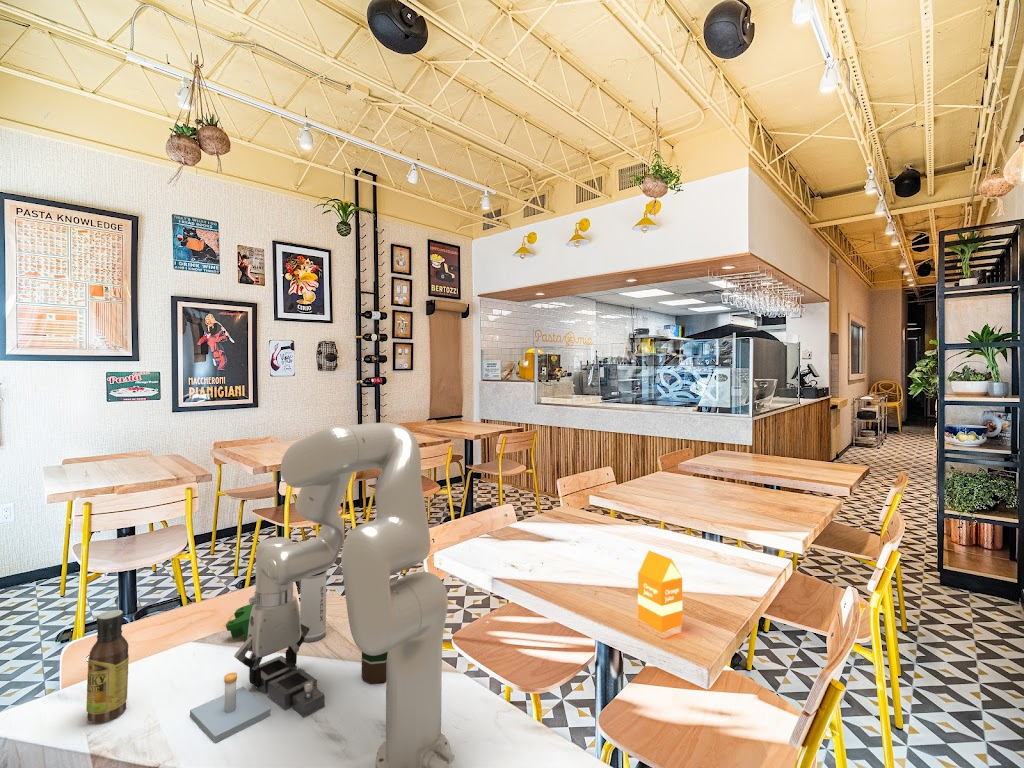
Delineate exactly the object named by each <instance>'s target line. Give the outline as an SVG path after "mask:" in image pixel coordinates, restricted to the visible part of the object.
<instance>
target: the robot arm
mask: <svg viewBox="0 0 1024 768" xmlns="http://www.w3.org/2000/svg"><path fill="white" fill-rule="evenodd" d="M372 469H373V470H374V469H381V471H380V474H379V476H378V478H377V480H376V483H375V484H376V485H375V488H374V489H375V490H374V503H375V509H376V519H374V520H370V521H367V522H364V523H360V524H359V525H357V526H355V527H354V528H353V529H351V530H350V531H349V532H348V533H347V535H346V537H345V526H344V525H345V524H344V521H343V518H342V515H341V514H340V513H339V509H340V506H341V504H342V501H343V500H344V496H345V494H346V491H347V489H348V487H349V484H350V481H351V479H352V477H353V473H356V472H363V471H367V470H372ZM280 474H281V478H282V480H283V482H284V483H286V485H287V486H289V487H291V488H294V489H295V488H296V489H299V491H298V494H297V496H296V499H295V505H294V507H295V510H296V512H297V514H298V515H300V517H301V518H303V519H304V520H307V521H309V522H311V523H314V524H317V525H321V528H320V530H319V532H318V534H317V535H316V537H315V538H310V539H307V540H304V541H300V542H296V543H294V542H293V540H292V539H291V538H289V537H285V536H277V537H275V536H274V537H268V538H266V539H263V540H261V541H260V542H258V543H257V546H256V548H255V591H254V595H253V596H252V597H249V599H248V603H249V605H250V604H255V605H253V607H252V610H251V615H250V620H249V627H248V639H247V640H245V641H244V643H243V644H242V645H241V646H240V648H239V649H238V650H237V651H236V652H235V653H234V655H233V657H234V658H235V659H236V660H238V661H239V662H240V663H242V664H243V665H245V667H248V668H249V669H248V670H249V671H248V672H249V675H248V676H249V678H248V681H249V684H250V685H252V684H253V685H252V686H253V687H255V688H256V689H257V688H259V687H260V686H261V668H260V667H259V665H260V664H261V662H262V659H263V658H264V657H268V656H270V655H273V654H275V653H276V652H280V651H282V650H284V649H286V650H285V658H286V659H287V660H288V661H290V662H291V663H293V664H295V665H296V666H297V661H298V660H297V656H298V655H297V653H298V652H299V651H300V647H301V646H302V645H303V643H304V638H305V637H306V635H307V633H308V632H309V630H310V629H309V628H308V627H307V626H305V625H303V624H301V622H300V608H299V606H300V605H299V601H298V598H297V596H295V595H294V583H295V582H299V581H301V580H302V579H304V578H306V577H309V576H312V575H315V574H318V573H321V572H324V571H326V572H327V570H329V569H330V568H331V567H332V566H333V565H334V564H335V562H336V560H337V558H338V556H339V555H340V552H341V555H340V556H341V559H340V561H341V572H342V580H343V588H344V595H345V601H346V602H345V603H346V610H347V618H348V624H349V625H348V626H349V629H350V633H351V636H352V639H353V641H354V644H355V645H356V646H357V648H358V649H359V651H361V653H362V652H363V653H365V654H367V655H371V656H376V655H381V654H383V653H386V652H388V654H387V664H386V682H385V741H384V742H383V743H382V744H381V745H380V747H379V748H378V750H377V753H376V759H375V761H376V762H375V763H376V764H375V765H376V768H451V766H450V765H451V764H452V763H453V762H454V760H455V754H454V753H452V752H451V745H450V743H449V740H448V739H447V737H446V735H445V734H443V733H442V678H443V677H442V676H443V673H442V672H443V671H442V668H443V642H444V641H443V639H444V631H445V625H446V619H447V614H448V608H449V596H448V592H447V588H446V586H445V584H444V581H442V579H441V578H440V577H439V576H437V575H436V574H435V573H432V572H429V571H416V572H414V573H409V574H407V575H404V576H401V578H398V579H395V580H393V581H391V577H392V576H394V575H397V574H398V573H400V572H403V571H405V570H408V569H410V568H413V567H415V566H416V565H419V564H420V563H422V562H423V561H425V560H426V558H427V557H428V556H429V554H430V550H431V535H430V528H429V522H428V515H427V508H426V501H425V495H424V489H423V483H422V481H423V480H422V456H421V450H420V446H419V443H418V441H417V438H416V437H415V436H414V434H413V433H412V431H410V430H409V429H408V427H407V428H406V427H405V426H403V425H400V424H396V423H391V422H372V423H371V422H370V423H361V424H348V425H334V426H329V427H326V428H323V429H321V430H318V431H316V432H315V433H312V434H311V435H309V436H306V437H304V438H302V439H300V440H298V441H296V442H294V443H293V444H292V445H290V446H289V447H288V448H287V449H286V451H285V452H284V453H283V455H282V458H281V463H280ZM248 652H249V653H250V656H249V657H247V656H246V654H247V653H248Z"/></svg>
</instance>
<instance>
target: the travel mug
mask: <svg viewBox="0 0 1024 768" xmlns="http://www.w3.org/2000/svg"><path fill="white" fill-rule="evenodd" d="M299 606H300V608H299V612H300V622H301V624H303V625H305V626H307V627H308V628H309V629H310V630H309V632H308V633H307V635H306V637H305V638H304V641H303V643H313V642H316V641H320V640H322V639H323V638H325V636H326V635H327V570H326V571H324V572H321V573H318V574H315V575H312V576H309V577H306V578H304V579H302V580H300V604H299Z"/></svg>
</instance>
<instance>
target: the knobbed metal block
mask: <svg viewBox="0 0 1024 768" xmlns="http://www.w3.org/2000/svg"><path fill="white" fill-rule="evenodd" d="M325 696H326V694H325V693H324V692H322V691H321V690H319V689H318V687H317V688H315V687H314V686H313V682H312V681H307V682H306V683H305V684H304V691H302V692H300V693H298V694H296V695H294V696H292V707H291V709H292V710H294V711H295V712H296V713H297V714H299V715H300V716H301V717H302V718H305V717H307V716H310V715H311V714H313V713H315V712H316V711H319V710H320V709H322V708H324V707H325V706H326V703H325V702H326V699H325V698H326V697H325Z"/></svg>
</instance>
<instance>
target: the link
mask: <svg viewBox="0 0 1024 768" xmlns="http://www.w3.org/2000/svg"><path fill="white" fill-rule="evenodd" d="M307 681H312V682H313V686H314V687H315V688H317V689H318V678H316V677H314V676H313V675H311V674H310V673H308V672H307V671H306V670H303V669H302V668H301V667H300V668H299V667H298V668H297V670H295V671H292V672H290V673H288V674H286V675H284V676H281V677H279V678H277V679H275V680H273V681H270V682H268V694H267V697H268V699H269V700H271V701H272V702H273V703H274V704H276V705H277V706H278V707H280V708H281V709H282V710H283V711H286V710H288V709H292V696H294V695H296V694H298V693H300V692H302V691H304V684H305V683H306V682H307Z"/></svg>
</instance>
